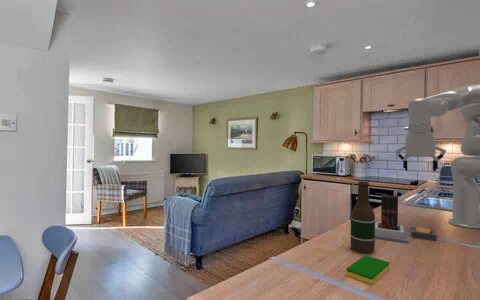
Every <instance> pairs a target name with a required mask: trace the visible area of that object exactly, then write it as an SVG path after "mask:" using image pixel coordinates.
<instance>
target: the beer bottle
mask: <svg viewBox="0 0 480 300" xmlns="http://www.w3.org/2000/svg"><path fill="white" fill-rule="evenodd" d="M357 185H358V186H357V198H356V202H355V203H356V204H355V205H354V206H353V208H352V210H351V213H350V249H351V250H352V251H354V252H355V253H360V254H363V255H366V254H368V255H369V254H372V253H374V251H375V247H376V242H375V241H376V239H375V224H376V214H375V211H374V209H373V207H372V206H371V205H370V193H369V190H370V189H369V186H370V183H369V182H368V181H366V180H365V181H363V180H362V181H358V182H357Z"/></svg>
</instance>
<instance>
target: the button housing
mask: <svg viewBox="0 0 480 300" xmlns="http://www.w3.org/2000/svg"><path fill="white" fill-rule="evenodd" d="M415 228H418V227H417V226H416V227H415V226H410V231H409V232H410V236H411V238H414V239H421V240H427V241H433V242H434V241H435V242H437V233H436V232H435V229H433V228H428V229H429V230H430V233H422V232H415Z"/></svg>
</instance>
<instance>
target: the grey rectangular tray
mask: <svg viewBox="0 0 480 300" xmlns="http://www.w3.org/2000/svg"><path fill="white" fill-rule="evenodd" d="M375 240H383V241H387V242H388V241H389V242H395V243H400V244H401V243H402V244H406V245H407V244H409V243H410V242H409V241H410V240H409V236H408V231H407V230H404V225H402V224H398V231H396V230H389V229H382V228H381V222H379V221H375Z"/></svg>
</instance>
